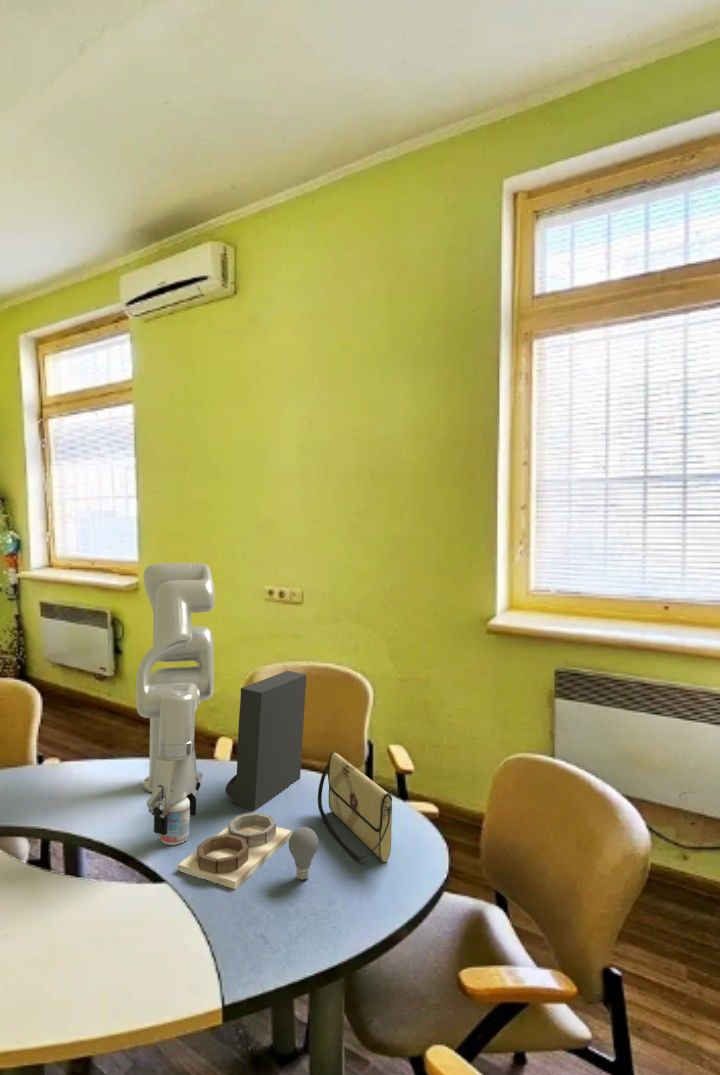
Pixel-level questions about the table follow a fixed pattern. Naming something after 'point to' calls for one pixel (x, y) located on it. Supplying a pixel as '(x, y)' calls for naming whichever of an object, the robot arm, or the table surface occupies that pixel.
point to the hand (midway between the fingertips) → (175, 823)
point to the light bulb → (303, 849)
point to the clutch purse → (358, 806)
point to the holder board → (236, 850)
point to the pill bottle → (177, 822)
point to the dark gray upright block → (268, 739)
